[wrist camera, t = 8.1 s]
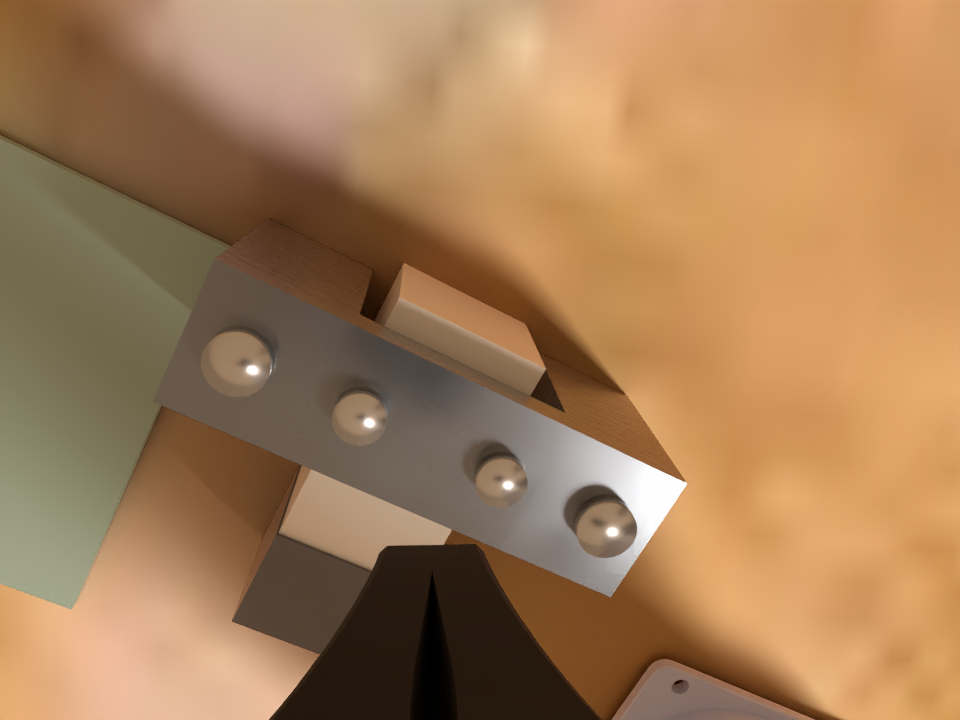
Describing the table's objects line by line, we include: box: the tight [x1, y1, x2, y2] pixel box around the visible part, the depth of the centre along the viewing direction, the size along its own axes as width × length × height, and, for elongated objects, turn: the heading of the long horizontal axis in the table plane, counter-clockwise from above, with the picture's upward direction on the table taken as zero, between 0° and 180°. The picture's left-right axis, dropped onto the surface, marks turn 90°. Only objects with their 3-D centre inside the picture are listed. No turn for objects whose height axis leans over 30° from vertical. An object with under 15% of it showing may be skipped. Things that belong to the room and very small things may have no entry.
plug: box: [232, 263, 546, 654], centre depth 18 cm, size 4×8×4 cm, turn 152°
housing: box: [153, 218, 687, 597], centre depth 17 cm, size 10×3×5 cm, turn 62°
